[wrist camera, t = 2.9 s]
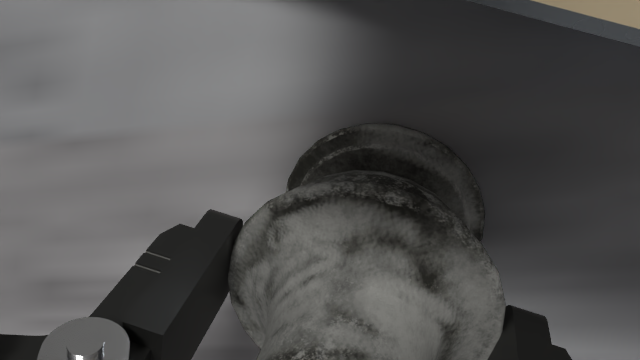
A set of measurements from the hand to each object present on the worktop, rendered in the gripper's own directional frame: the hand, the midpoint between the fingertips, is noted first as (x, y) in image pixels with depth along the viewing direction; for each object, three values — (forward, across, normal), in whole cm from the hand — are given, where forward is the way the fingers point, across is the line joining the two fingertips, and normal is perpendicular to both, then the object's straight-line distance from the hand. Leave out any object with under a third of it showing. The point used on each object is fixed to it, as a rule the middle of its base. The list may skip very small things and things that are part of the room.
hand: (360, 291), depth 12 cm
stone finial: (+3, 0, 0) cm, 3 cm away
